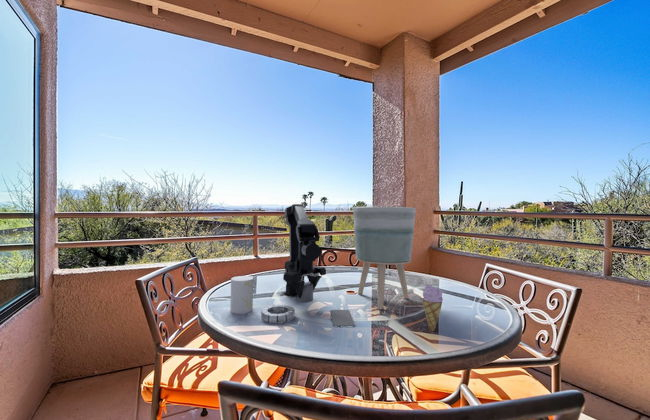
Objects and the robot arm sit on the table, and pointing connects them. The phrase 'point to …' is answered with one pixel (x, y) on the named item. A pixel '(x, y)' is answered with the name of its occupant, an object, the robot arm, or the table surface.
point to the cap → (306, 293)
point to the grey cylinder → (241, 294)
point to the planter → (383, 242)
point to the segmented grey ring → (271, 317)
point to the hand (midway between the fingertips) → (305, 295)
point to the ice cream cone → (432, 305)
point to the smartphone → (341, 318)
